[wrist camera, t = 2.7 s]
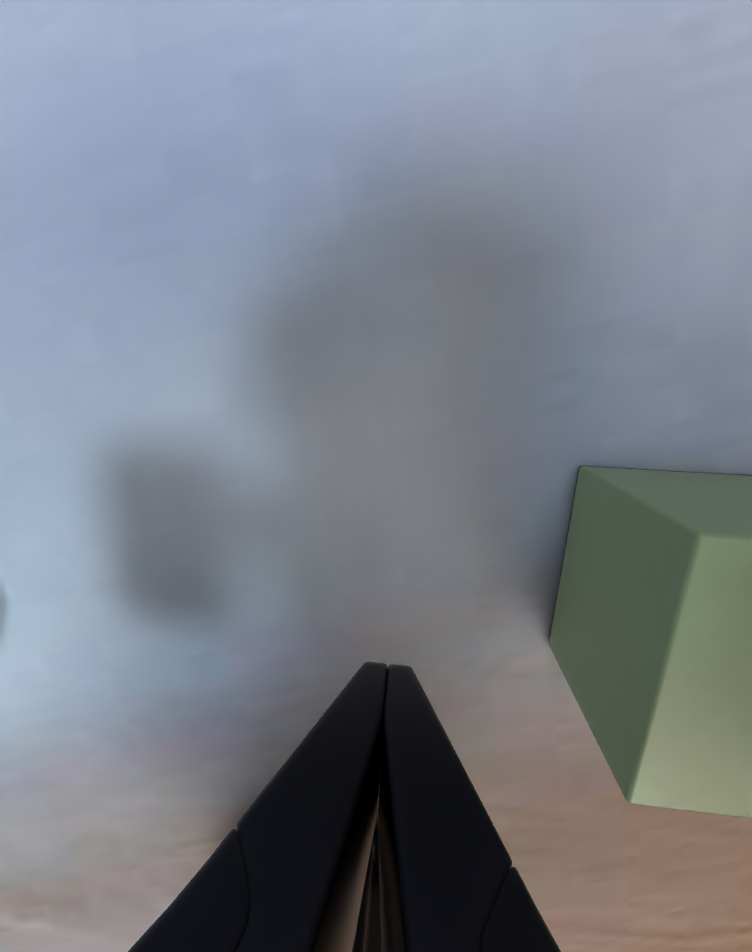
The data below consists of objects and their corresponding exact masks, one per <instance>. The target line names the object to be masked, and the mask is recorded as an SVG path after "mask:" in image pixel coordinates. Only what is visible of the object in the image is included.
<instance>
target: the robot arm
mask: <svg viewBox="0 0 752 952" xmlns="http://www.w3.org/2000/svg"><path fill="white" fill-rule="evenodd" d="M379 785H380V787H379ZM378 797H379V806H378ZM377 807H378V829H374V828H375V821H376V815H377ZM128 952H561V951H560V949H559V947H558V946H557V944H556V942H555V940H554V938H553V937H552V935H551V933H550V931H549V929H548V927H547V926H546V924H545V922H544V920H543V918H542V916H541V915H540V913H539V911H538V909H537V907H536V906H535V904H534V902H533V900H532V898H531V896H530V894H529V892H528V890H527V888H526V886H525V884H524V882H523V880H522V879H521V877H520V875H519V873H518V871H517V869H516V868H515V867H512V860H511V858H510V856H509V854H508V852H507V850H506V848H505V846H504V844H503V843H502V841H501V839H500V837H499V835H498V833H497V831H496V829H495V827H494V825H493V823H492V821H491V819H490V817H489V816H488V814H487V812H486V810H485V808H484V806H483V804H482V802H481V800H480V798H479V796H478V794H477V792H476V790H475V789H474V787H473V785H472V783H471V781H470V779H469V777H468V775H467V773H466V771H465V769H464V767H463V765H462V763H461V762H460V760H459V758H458V756H457V754H456V752H455V750H454V748H453V746H452V744H451V742H450V740H449V738H448V736H447V735H446V733H445V731H444V729H443V727H442V725H441V723H440V721H439V719H438V717H437V715H436V713H435V711H434V710H433V708H432V706H431V704H430V702H429V700H428V698H427V696H426V694H425V692H424V690H423V688H422V686H421V684H420V683H419V681H418V679H417V677H416V675H415V673H414V671H413V669H412V668H411V667H410V666H405V665H395V664H391V665H389V667H388V668H387V665H386V664H384V663H375V662H366V663H364V664H363V665H362V666H361V668H360V669H359V670H358V671H357V673H356V674H355V675H354V677H353V678H352V679H351V680H350V682H349V683H348V684H347V685H346V687H345V688H344V689H343V690H342V692H341V693H340V694H339V695H338V697H337V698H336V699H335V701H334V702H333V703H332V704H331V706H330V707H329V708H328V709H327V711H326V712H325V713H324V714H323V716H322V717H321V718H320V719H319V721H318V722H317V723H316V725H315V726H314V727H313V728H312V730H311V731H310V732H309V733H308V735H307V736H306V737H305V738H304V740H303V741H302V742H301V743H300V745H299V746H298V747H297V748H296V750H295V751H294V752H293V754H292V755H291V756H290V757H289V759H288V760H287V761H286V762H285V764H284V765H283V766H282V767H281V769H280V770H279V771H278V772H277V774H276V775H275V776H274V778H273V779H272V780H271V781H270V783H269V784H268V785H267V786H266V788H265V789H264V790H263V791H262V793H261V794H260V795H259V796H258V798H257V799H256V800H255V802H254V803H253V804H252V805H251V807H250V808H249V809H248V810H247V812H246V813H245V814H244V815H243V817H242V818H241V819H240V820H239V822H238V823H237V830H236V829H232V830H231V831H230V833H229V834H228V835H227V836H226V838H225V839H224V840H223V841H222V843H221V844H220V845H219V847H218V848H217V849H216V850H215V852H214V853H213V854H212V855H211V857H210V858H209V859H208V860H207V862H206V863H205V864H204V865H203V866H202V868H201V869H200V870H199V871H198V872H197V874H196V875H195V876H194V877H193V878H192V880H191V881H190V882H189V883H188V884H187V886H186V887H185V888H184V889H183V890H182V892H181V893H180V894H179V895H178V896H177V898H176V899H175V900H174V901H173V902H172V904H171V905H170V906H169V907H168V908H167V909H166V910H165V911H164V912H163V914H162V915H161V916H160V917H159V918H158V919H157V920H156V921H155V922H154V924H153V925H152V926H151V927H150V928H149V929H148V930H147V931H146V932H145V933H144V935H143V936H142V937H141V938H140V939H139V940H138V941H137V942H136V943H135V944H134V946H133V947H132V948H131V949H130V950H129V951H128Z"/></svg>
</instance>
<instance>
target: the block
mask: <svg viewBox="0 0 752 952" xmlns="http://www.w3.org/2000/svg"><path fill="white" fill-rule="evenodd" d="M549 646H550V648H551V650H552V652H553V654H554V656H555V658H556V660H557V662H558V664H559V666H560V668H561V670H562V672H563V674H564V676H565V678H566V680H567V682H568V684H569V686H570V688H571V690H572V692H573V694H574V696H575V698H576V700H577V702H578V704H579V706H580V708H581V710H582V712H583V714H584V716H585V718H586V720H587V722H588V724H589V726H590V728H591V730H592V732H593V734H594V736H595V738H596V740H597V742H598V744H599V746H600V748H601V750H602V752H603V754H604V756H605V758H606V760H607V763H608V765H609V767H610V769H611V771H612V773H613V775H614V777H615V779H616V781H617V783H618V785H619V787H620V789H621V791H622V793H623V795H624V797H625V799H626V800H627V801H628V802H629V803H631V804H638V805H646V806H654V807H663V808H671V809H679V810H687V811H696V812H704V813H712V814H720V815H729V816H737V817H745V818H752V476H745V475H727V474H710V473H693V472H675V471H658V470H641V469H623V468H606V467H589V466H582V467H580V469H579V475H578V480H577V486H576V492H575V498H574V503H573V509H572V515H571V520H570V526H569V532H568V537H567V543H566V549H565V555H564V560H563V566H562V572H561V577H560V583H559V589H558V594H557V600H556V606H555V612H554V617H553V623H552V629H551V634H550V640H549Z"/></svg>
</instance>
